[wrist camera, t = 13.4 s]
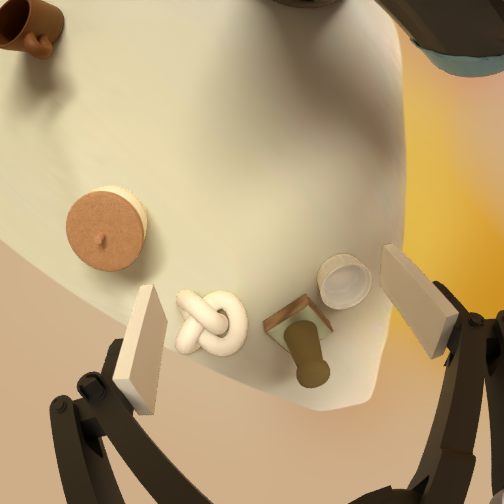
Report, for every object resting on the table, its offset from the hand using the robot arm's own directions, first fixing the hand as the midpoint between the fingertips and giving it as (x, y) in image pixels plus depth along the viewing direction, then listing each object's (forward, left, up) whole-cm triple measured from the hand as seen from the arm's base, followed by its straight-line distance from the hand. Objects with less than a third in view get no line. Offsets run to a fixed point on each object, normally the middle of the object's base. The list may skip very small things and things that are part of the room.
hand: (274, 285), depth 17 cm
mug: (+7, -35, -27) cm, 45 cm away
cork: (+9, +27, -24) cm, 38 cm away
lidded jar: (+17, -7, -27) cm, 33 cm away
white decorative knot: (+18, +14, -27) cm, 35 cm away
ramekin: (-2, +24, -27) cm, 36 cm away
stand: (+9, +28, -27) cm, 39 cm away
